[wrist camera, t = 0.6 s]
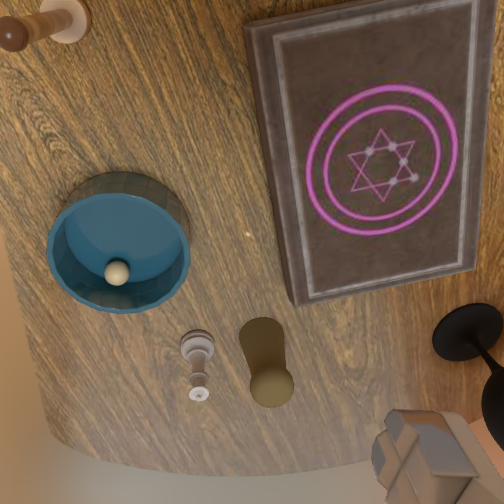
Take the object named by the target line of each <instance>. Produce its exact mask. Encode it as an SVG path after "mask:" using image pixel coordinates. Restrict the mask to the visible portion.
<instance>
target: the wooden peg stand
mask: <svg viewBox="0 0 504 504" xmlns="http://www.w3.org/2000/svg"><path fill="white" fill-rule="evenodd" d="M90 27H91V16H90V12H89V10H88V8H87V6H86V4H85V3H84V2H83V1H82V0H43V1H42V3H41V5H40V8H39V13H37V14H32V15H28V16H23V17H18V18H15V17H11V16H4V17H1V18H0V47H2V48H3V49H5V50H7V51H10V52H19V51H22V50H23V49H25V48H26V47H27V45H28V44H30V43H32V42H35V41H37V40H40V39H43V38H45V37H48V36H50V37H51V38H52V39H53V40H55V41H57V42H60V43H63V44H72V43H75V42H77V41H79V40H81V39H83V38H84V37H85V36H86V35H87V34H88V32H89V30H90Z"/></svg>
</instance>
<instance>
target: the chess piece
mask: <svg viewBox="0 0 504 504" xmlns="http://www.w3.org/2000/svg"><path fill="white" fill-rule="evenodd" d="M181 353H182V355H183V357H184V358H185V359H186V360H188V362H189V363H190V364H191V365H192V368H193V373H191V374H190V376H189V383H190V384H191V385H192V386H193V387H192V388H191V389H190V391H189V396H190V398H191V399H192V400H194V401H203V400H205V399H206V398H207V397H208V396H209V390H208V388H207V387H205V385H206V384H207V382H208V375H207V373H205V372H204V365H205V363H207V361H208V359H210V357H211V356H212V355H213V353H214V340H213V337H212V336H211V335H210V334H209V333H207V332H205V331H201V330H196V331H191V332H189V333H187V334H186V335H185V336H184V337H183V338H182V341H181Z"/></svg>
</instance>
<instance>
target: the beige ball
mask: <svg viewBox="0 0 504 504" xmlns="http://www.w3.org/2000/svg"><path fill="white" fill-rule="evenodd" d="M129 275H130V272H129V268H128V266H127V265H126V264H125V263H123V262H121V261H114V262H111V263H109V264H108V265H107V266H106V268H105V270H104V277H105V279H106V281H107V282H108V283H110V284H112V285H115V286H118V285H122V284H124V283H125V282H126V281H127V280H128V278H129Z"/></svg>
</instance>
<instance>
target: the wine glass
mask: <svg viewBox="0 0 504 504" xmlns="http://www.w3.org/2000/svg"><path fill="white" fill-rule="evenodd" d="M502 330H503V318H502V316H501V314H500V312H499V311H498V310H497V309H496V308H494V307H492V306H490V305H487V304H480V303H477V304H469V305H465V306H462V307H460V308H458V309H456V310H454V311H452V312H451V313H449V314H448V315H447V316H446V317H445V318H444V319H443V320H442V321H441V322H440V323H439V324H438V326H437V327H436V329H435V331H434V334H433V347H434V349H435V351H436V352H437V354H438V355H439V356H440V357H442V358H444V359H446V360H449V361H466V360H470V359H473V358H476V357H478V356H480V355H481V356H482V358H483V359H484V360H485V362H486V363H487V365H488V366H489V368H490V370H491V372H492V375H491V376H490V378H489V379H488V381H487V382H486V385H485V387H484V390H483V393H482V401H481V405H482V413H483V417H484V420H485V423H486V425H487V428H488V430H489V431H490V433H491V435H492V436H493V438H494V440H495V441H496V442H497V443H498V445H499V446H500V447H501V449H502V450H503V451H504V367H502V366H500V365H499V364H498V363H497V362H496V361H495V360H494V359H493V358H492V357H491V356H490V355H489V353H488V352H487V351H488V350H489V349H490V348H491V347H492V346H493V345H494V344H495V343H496V342H497V340H498V339H499V337H500V335H501V333H502Z"/></svg>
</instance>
